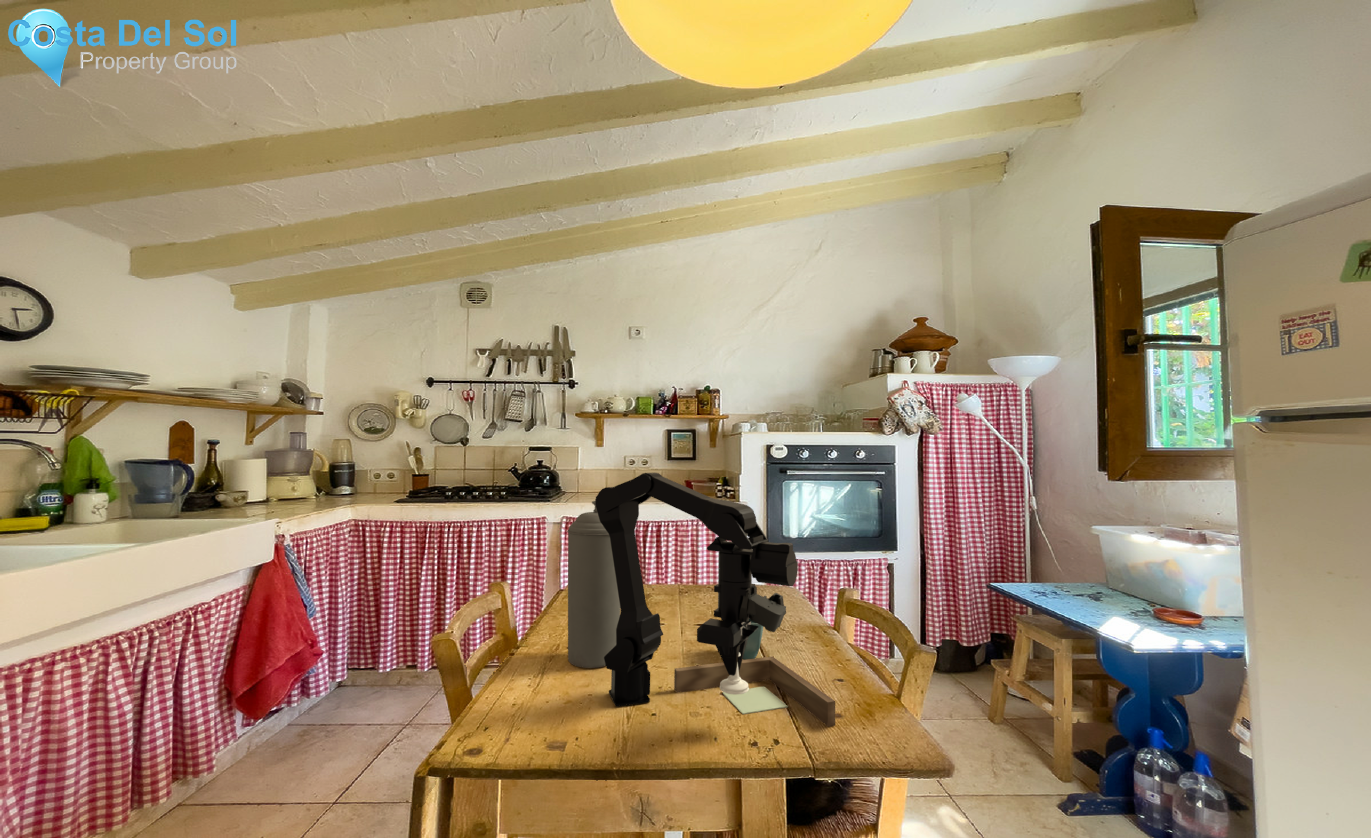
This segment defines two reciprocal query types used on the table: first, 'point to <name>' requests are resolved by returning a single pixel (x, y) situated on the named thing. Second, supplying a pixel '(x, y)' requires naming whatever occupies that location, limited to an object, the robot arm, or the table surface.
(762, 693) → the pad
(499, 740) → the table surface
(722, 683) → the chess piece
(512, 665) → the table surface
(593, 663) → the canister
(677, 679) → the corner wall
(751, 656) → the flower pot
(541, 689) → the table surface
